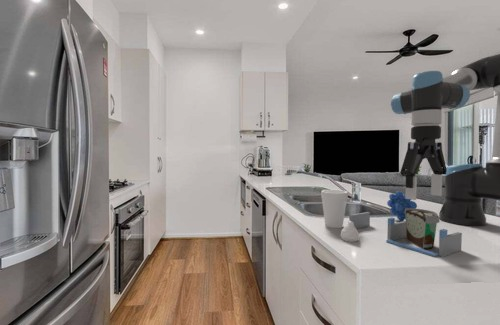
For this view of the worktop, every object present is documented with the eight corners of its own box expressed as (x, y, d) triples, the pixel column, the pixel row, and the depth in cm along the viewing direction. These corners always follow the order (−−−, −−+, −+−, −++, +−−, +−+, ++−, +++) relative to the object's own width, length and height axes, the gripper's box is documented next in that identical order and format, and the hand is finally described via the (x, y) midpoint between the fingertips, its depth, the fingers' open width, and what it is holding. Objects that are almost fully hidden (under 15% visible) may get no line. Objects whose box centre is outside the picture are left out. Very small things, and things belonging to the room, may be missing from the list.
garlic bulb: (362, 222, 86) (347, 223, 85) (362, 241, 86) (346, 243, 85) (352, 218, 91) (337, 219, 90) (351, 236, 91) (337, 237, 90)
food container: (449, 252, 77) (450, 216, 77) (426, 252, 77) (427, 216, 77) (423, 238, 89) (424, 207, 89) (403, 238, 90) (404, 207, 89)
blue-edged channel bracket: (367, 225, 106) (367, 206, 105) (461, 250, 79) (462, 226, 78) (345, 229, 100) (345, 209, 99) (438, 258, 73) (439, 231, 72)
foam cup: (321, 228, 101) (321, 192, 101) (320, 221, 110) (321, 189, 110) (348, 229, 99) (349, 193, 98) (345, 223, 108) (346, 190, 107)
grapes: (382, 219, 114) (382, 190, 114) (389, 217, 119) (390, 189, 118) (412, 225, 105) (413, 194, 105) (419, 222, 109) (420, 192, 109)
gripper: (434, 128, 91) (433, 192, 92) (387, 125, 79) (386, 199, 80) (461, 126, 85) (459, 195, 86) (414, 122, 72) (412, 203, 73)
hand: (424, 197), depth 83 cm, fingers open, 13 cm apart
